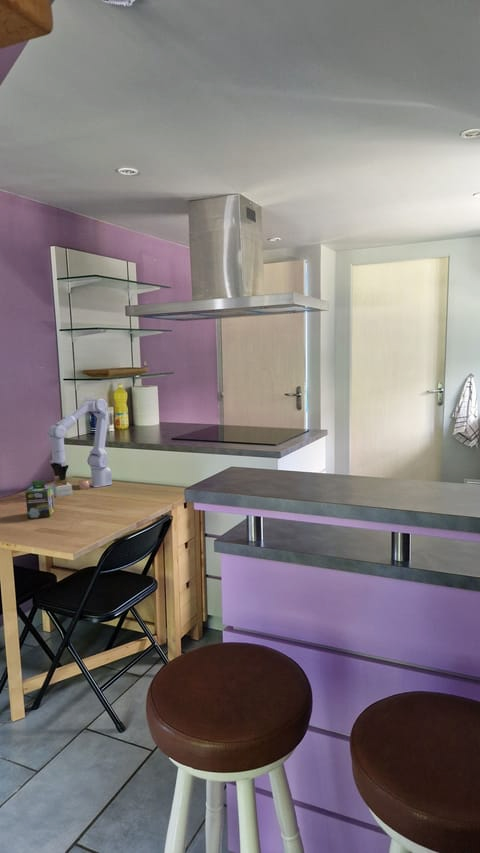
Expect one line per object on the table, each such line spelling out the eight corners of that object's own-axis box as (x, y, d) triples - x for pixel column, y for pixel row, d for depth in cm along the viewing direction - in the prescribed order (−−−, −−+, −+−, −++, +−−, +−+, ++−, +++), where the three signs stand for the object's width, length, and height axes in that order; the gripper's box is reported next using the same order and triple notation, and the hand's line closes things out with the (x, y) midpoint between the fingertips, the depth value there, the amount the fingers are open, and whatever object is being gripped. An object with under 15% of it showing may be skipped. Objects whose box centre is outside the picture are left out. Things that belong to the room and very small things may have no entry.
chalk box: (55, 511, 230) (52, 477, 228) (50, 517, 221) (47, 482, 219) (33, 512, 229) (30, 478, 227) (26, 518, 220) (23, 483, 218)
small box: (67, 491, 263) (66, 481, 262) (72, 495, 256) (72, 484, 256) (51, 494, 258) (50, 484, 258) (56, 498, 252) (55, 487, 251)
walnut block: (64, 483, 259) (63, 474, 259) (66, 484, 256) (66, 476, 255) (54, 484, 257) (53, 476, 256) (57, 486, 253) (56, 477, 253)
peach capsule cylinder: (88, 486, 272) (87, 478, 271) (91, 488, 268) (90, 480, 267) (78, 488, 269) (77, 480, 269) (80, 490, 265) (80, 482, 265)
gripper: (45, 449, 258) (47, 477, 260) (54, 453, 246) (56, 482, 248) (60, 448, 262) (62, 475, 264) (69, 451, 250) (71, 480, 252)
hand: (60, 478), depth 256 cm, fingers open, 6 cm apart
